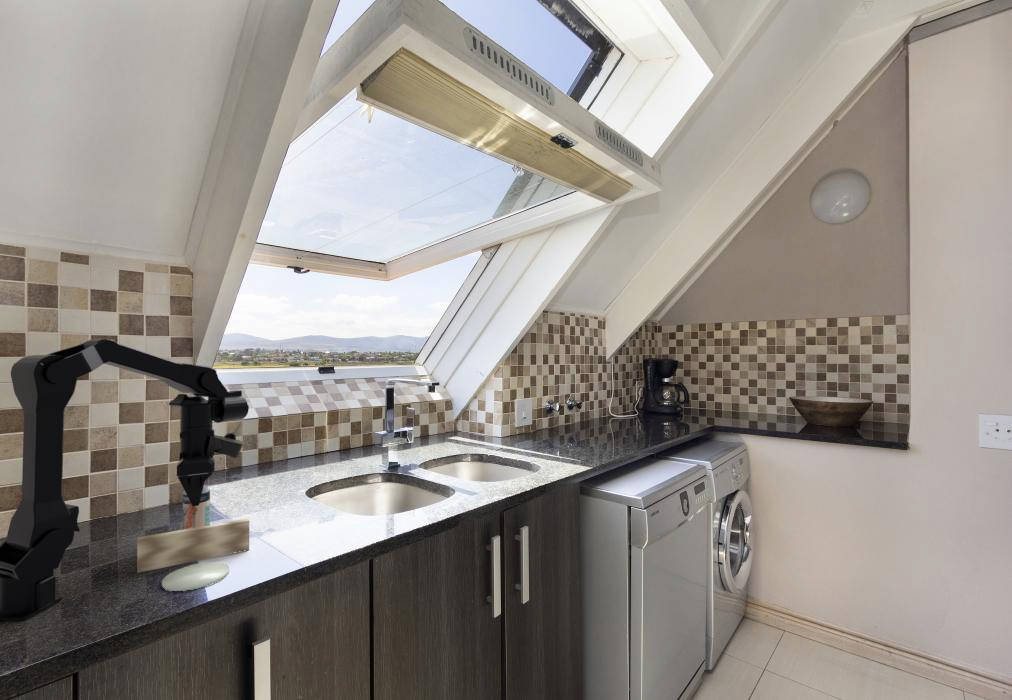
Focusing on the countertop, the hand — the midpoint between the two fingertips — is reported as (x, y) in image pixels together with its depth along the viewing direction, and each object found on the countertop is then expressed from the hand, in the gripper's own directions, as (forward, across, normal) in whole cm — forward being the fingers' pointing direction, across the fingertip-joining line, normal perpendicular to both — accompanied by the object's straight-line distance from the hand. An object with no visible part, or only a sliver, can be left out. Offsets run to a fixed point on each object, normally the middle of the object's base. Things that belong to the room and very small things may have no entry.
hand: (196, 500), depth 99 cm
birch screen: (+9, -9, 0) cm, 13 cm away
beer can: (+10, 0, 0) cm, 10 cm away
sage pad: (+9, -18, 0) cm, 20 cm away
